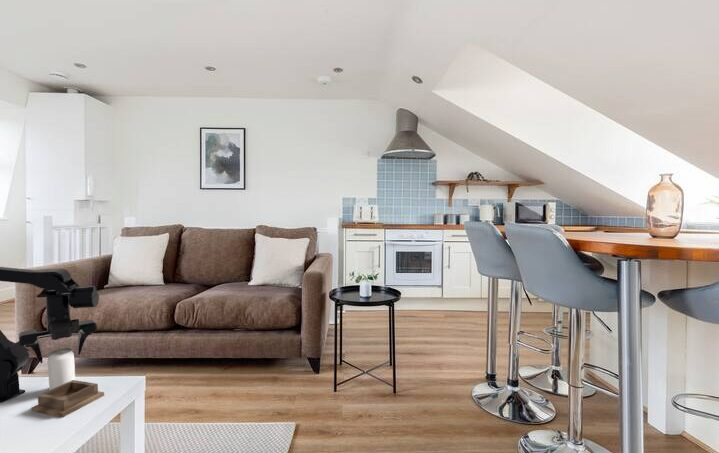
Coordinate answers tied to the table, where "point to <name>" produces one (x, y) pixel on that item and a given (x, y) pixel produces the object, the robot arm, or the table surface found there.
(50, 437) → the table surface
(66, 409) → the socket
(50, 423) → the table surface
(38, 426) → the table surface
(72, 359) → the can
